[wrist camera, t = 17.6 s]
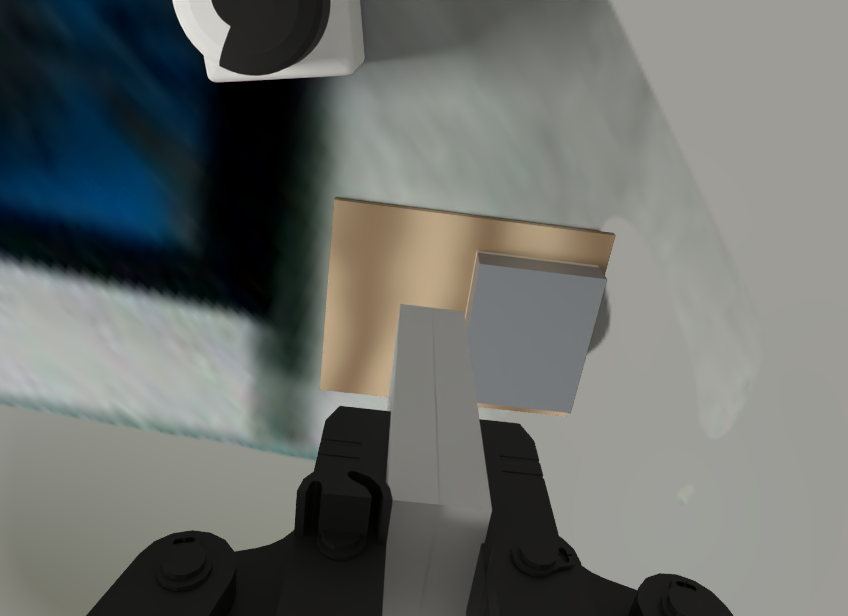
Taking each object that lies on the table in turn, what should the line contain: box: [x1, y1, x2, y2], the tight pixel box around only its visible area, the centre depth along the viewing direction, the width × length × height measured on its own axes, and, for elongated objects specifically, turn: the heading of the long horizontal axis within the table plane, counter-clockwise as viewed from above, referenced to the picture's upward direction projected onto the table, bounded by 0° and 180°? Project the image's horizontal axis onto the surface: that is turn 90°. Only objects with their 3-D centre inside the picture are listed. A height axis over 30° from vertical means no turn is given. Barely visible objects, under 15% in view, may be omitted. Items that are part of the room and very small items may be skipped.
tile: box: [465, 250, 607, 413], centre depth 43 cm, size 2×10×8 cm
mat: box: [320, 198, 615, 416], centre depth 44 cm, size 18×14×1 cm
